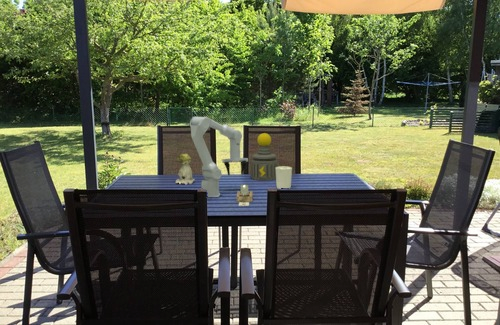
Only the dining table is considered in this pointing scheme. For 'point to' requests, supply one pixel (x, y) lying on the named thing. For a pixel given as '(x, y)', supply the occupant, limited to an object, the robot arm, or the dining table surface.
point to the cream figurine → (185, 170)
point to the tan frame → (245, 199)
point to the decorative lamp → (264, 161)
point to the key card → (243, 203)
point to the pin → (244, 190)
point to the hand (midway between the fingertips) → (235, 174)
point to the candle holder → (283, 177)
